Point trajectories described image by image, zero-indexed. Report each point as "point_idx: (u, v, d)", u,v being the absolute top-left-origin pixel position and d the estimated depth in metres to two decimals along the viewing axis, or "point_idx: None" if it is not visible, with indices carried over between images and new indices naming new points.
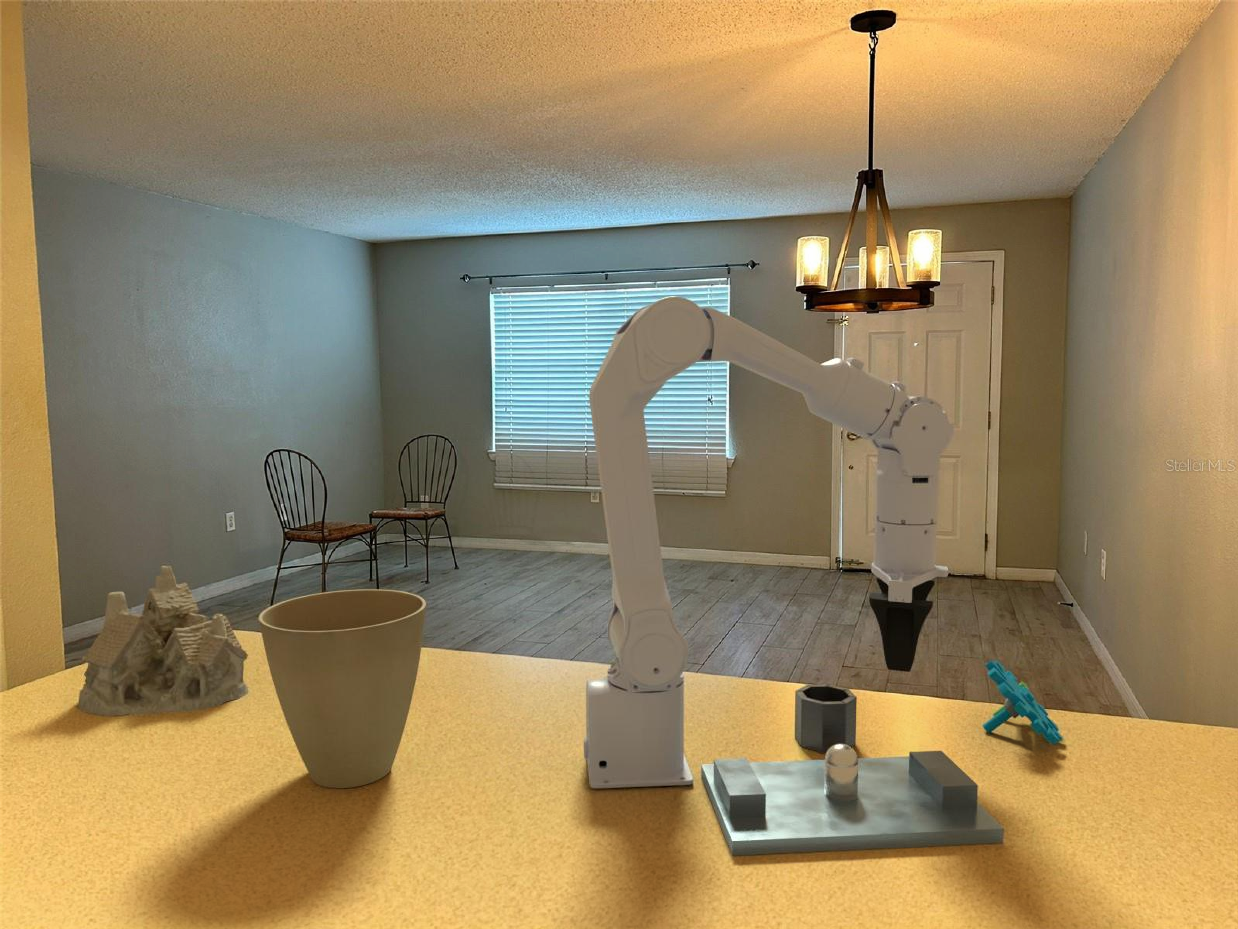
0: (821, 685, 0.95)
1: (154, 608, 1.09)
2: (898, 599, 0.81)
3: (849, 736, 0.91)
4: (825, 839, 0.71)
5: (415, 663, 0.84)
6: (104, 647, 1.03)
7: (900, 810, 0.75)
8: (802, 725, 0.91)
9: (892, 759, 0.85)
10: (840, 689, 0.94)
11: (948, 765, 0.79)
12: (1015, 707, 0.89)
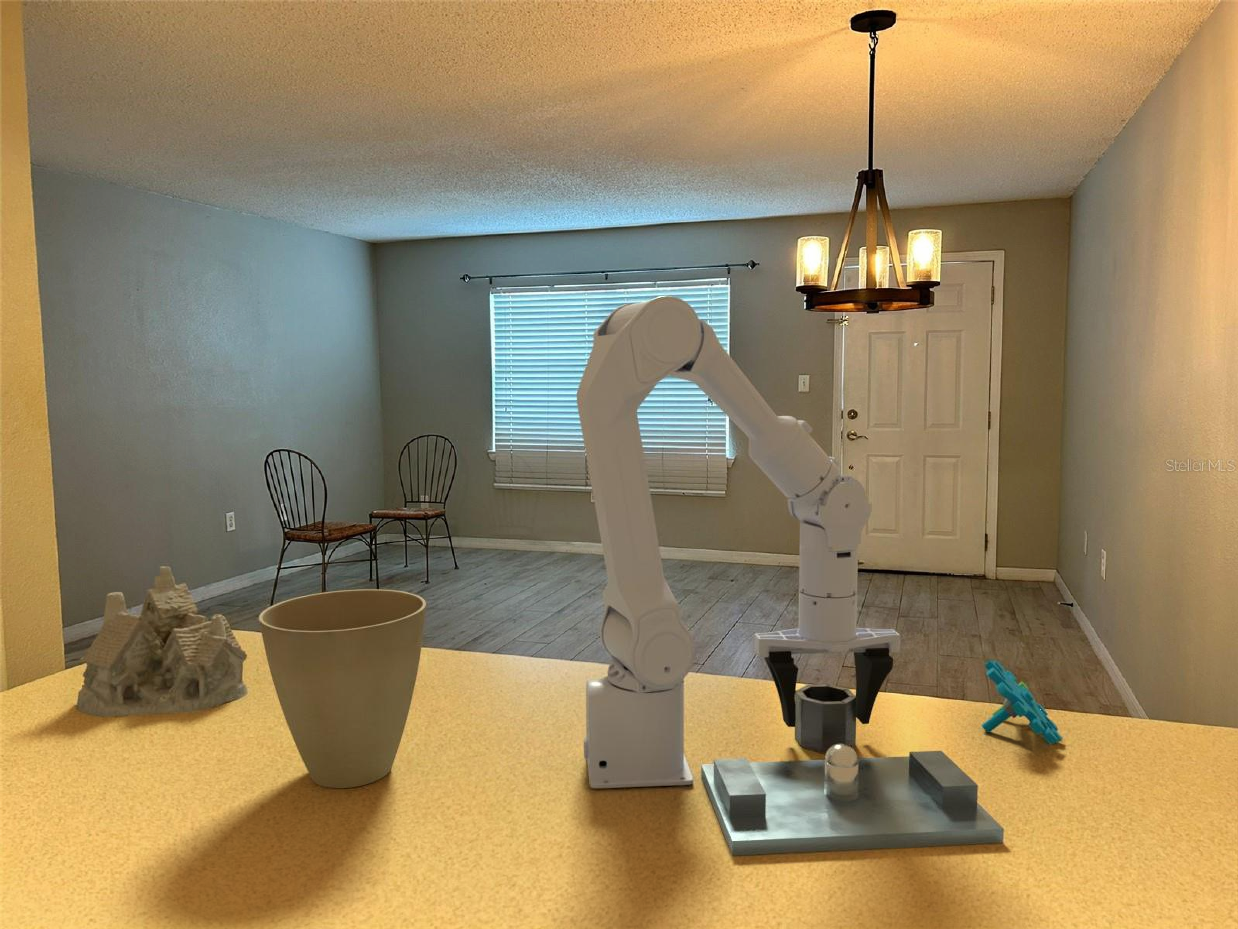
0: (821, 685, 0.95)
1: (153, 609, 1.08)
2: (756, 652, 0.91)
3: (849, 736, 0.91)
4: (825, 839, 0.71)
5: (415, 663, 0.84)
6: (103, 647, 1.03)
7: (900, 810, 0.75)
8: (802, 725, 0.91)
9: (892, 759, 0.85)
10: (840, 689, 0.94)
11: (948, 765, 0.79)
12: (1013, 707, 0.90)
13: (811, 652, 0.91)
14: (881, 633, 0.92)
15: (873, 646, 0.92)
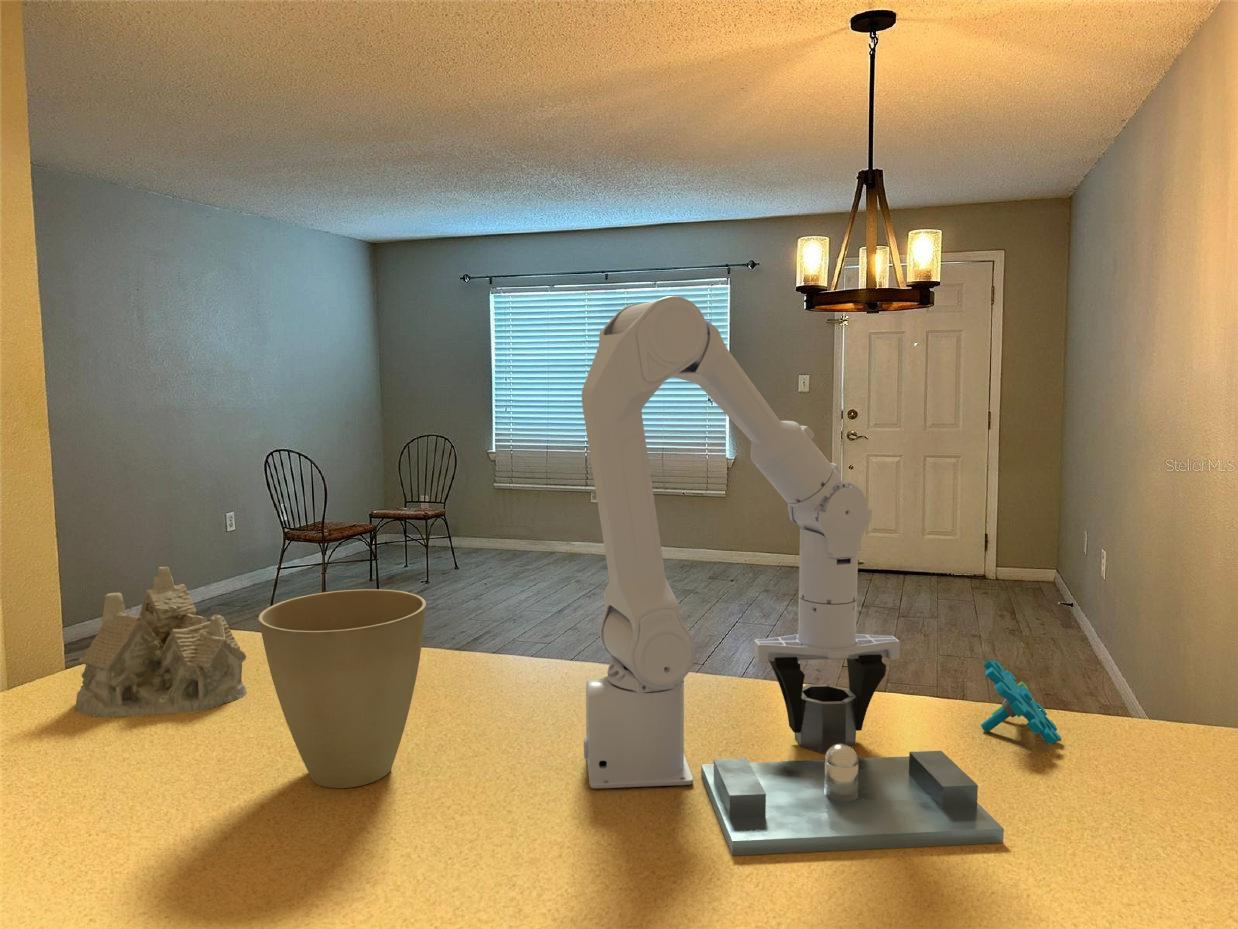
0: (821, 685, 0.95)
1: (152, 609, 1.08)
2: (755, 658, 0.91)
3: (849, 736, 0.91)
4: (825, 839, 0.71)
5: (415, 663, 0.84)
6: (101, 648, 1.02)
7: (900, 810, 0.75)
8: (802, 725, 0.91)
9: (892, 759, 0.85)
10: (840, 689, 0.94)
11: (948, 765, 0.79)
12: (1012, 706, 0.90)
13: (811, 658, 0.91)
14: (881, 639, 0.92)
15: (873, 652, 0.92)
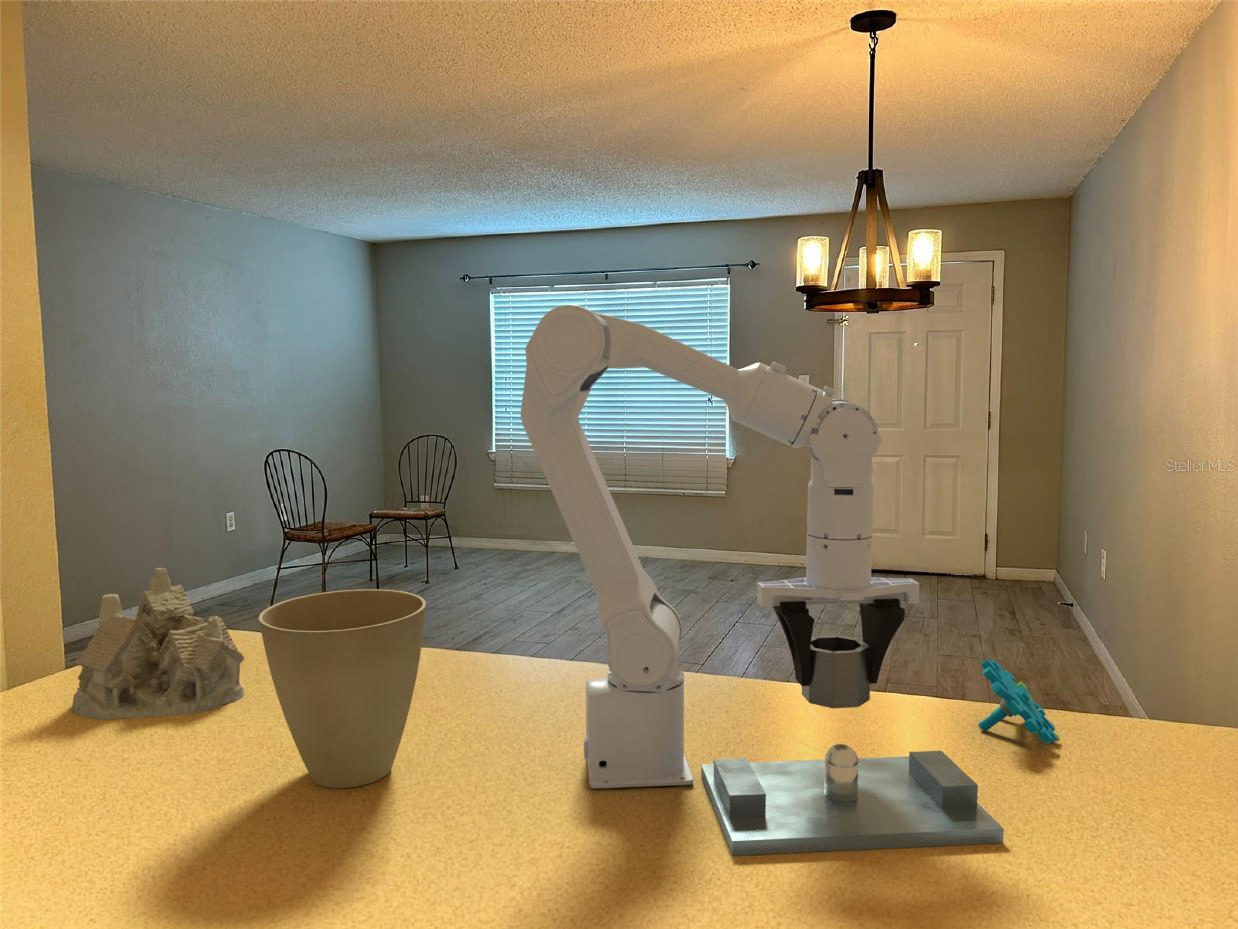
0: (830, 636, 0.85)
1: (149, 610, 1.07)
2: (759, 602, 0.82)
3: (863, 689, 0.81)
4: (825, 839, 0.71)
5: (415, 663, 0.84)
6: (98, 650, 1.02)
7: (900, 810, 0.75)
8: (810, 678, 0.82)
9: (892, 759, 0.85)
10: (851, 639, 0.84)
11: (948, 765, 0.79)
12: (1008, 706, 0.90)
13: (820, 603, 0.82)
14: (898, 582, 0.82)
15: (889, 596, 0.82)
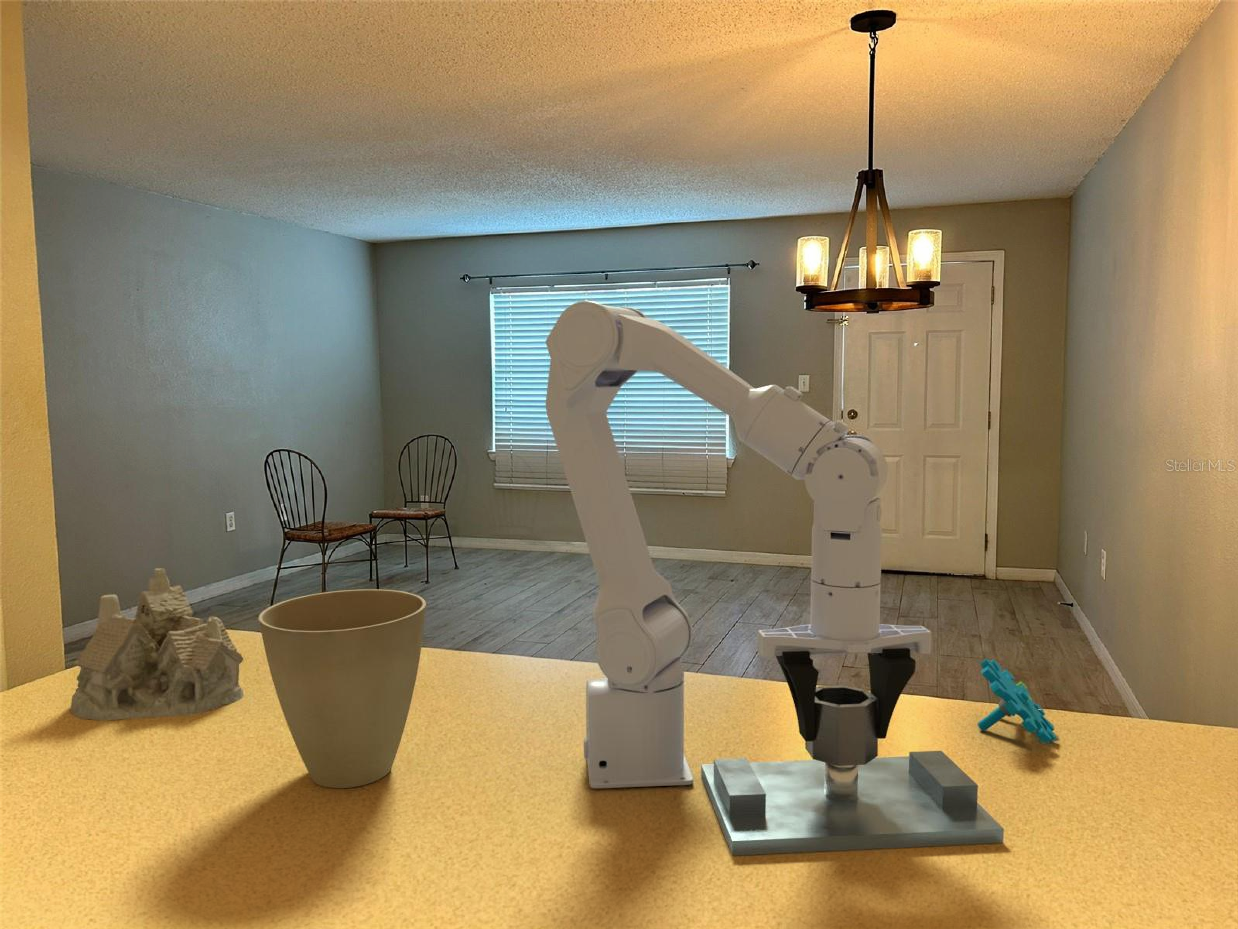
0: (835, 686, 0.80)
1: (147, 611, 1.07)
2: (760, 652, 0.77)
3: (870, 745, 0.76)
4: (825, 839, 0.71)
5: (415, 663, 0.84)
6: (97, 650, 1.01)
7: (900, 810, 0.75)
8: None
9: (892, 759, 0.85)
10: (858, 690, 0.79)
11: (948, 765, 0.79)
12: (1006, 705, 0.90)
13: (825, 653, 0.77)
14: (908, 630, 0.77)
15: (899, 646, 0.77)
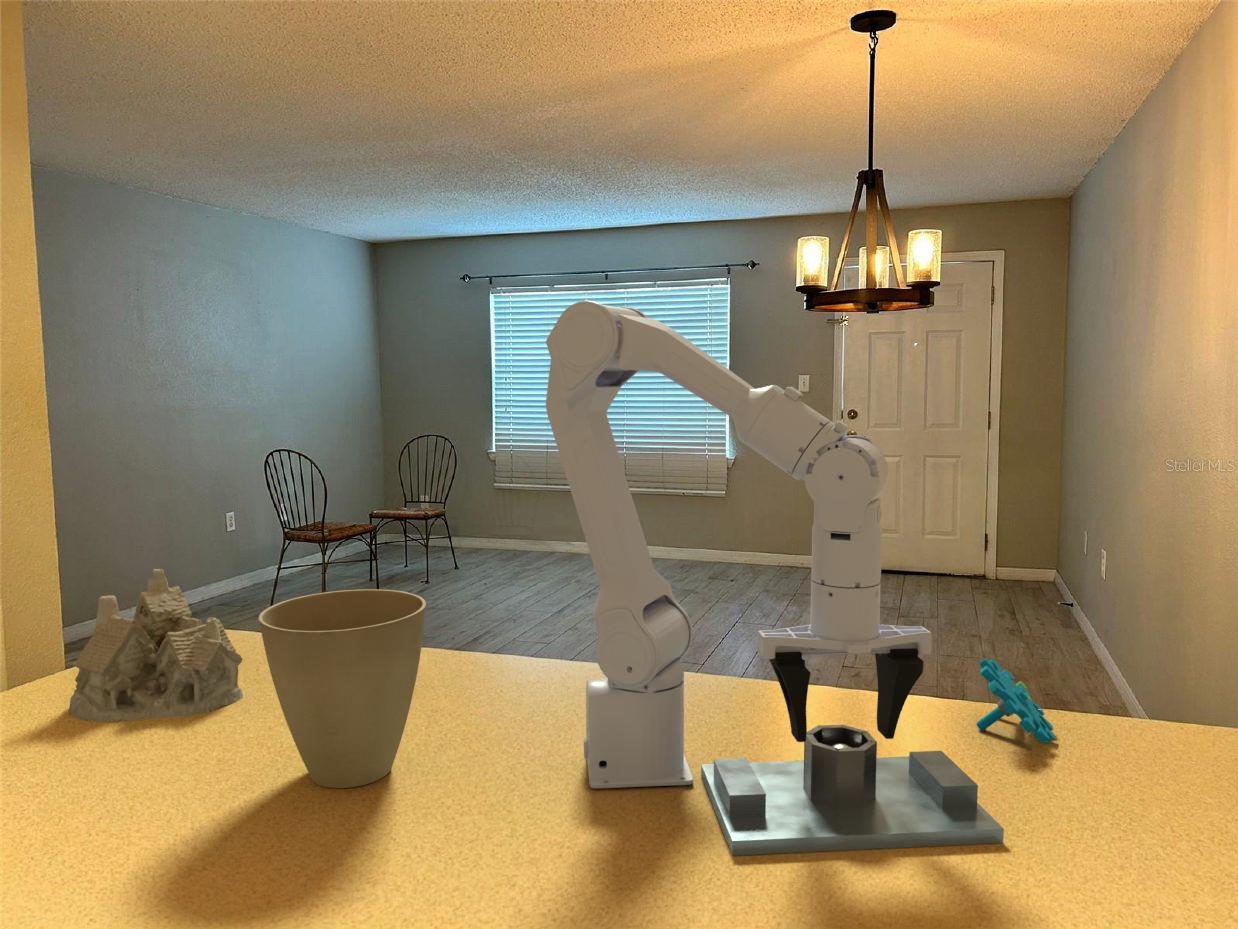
0: (835, 726, 0.81)
1: (146, 612, 1.07)
2: (760, 652, 0.77)
3: (868, 789, 0.76)
4: (825, 839, 0.71)
5: (415, 663, 0.84)
6: (95, 651, 1.01)
7: (900, 810, 0.75)
8: (812, 775, 0.77)
9: (892, 759, 0.85)
10: (857, 731, 0.79)
11: (948, 765, 0.79)
12: (1004, 705, 0.90)
13: (825, 653, 0.77)
14: (908, 631, 0.77)
15: (899, 646, 0.77)
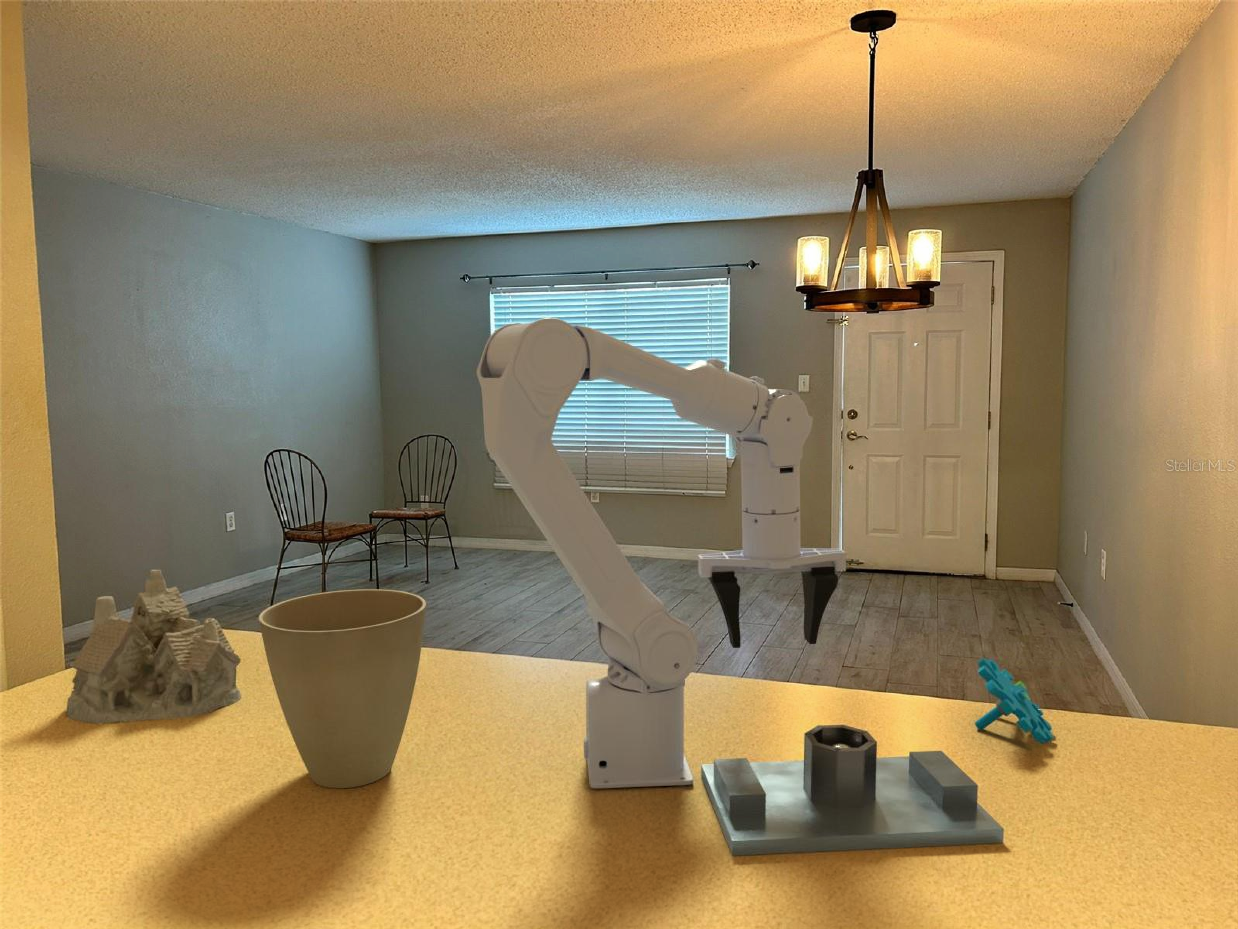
0: (835, 726, 0.81)
1: (144, 613, 1.06)
2: (699, 573, 0.90)
3: (868, 789, 0.76)
4: (825, 839, 0.71)
5: (415, 663, 0.84)
6: (93, 652, 1.01)
7: (900, 810, 0.75)
8: (812, 775, 0.77)
9: (892, 759, 0.85)
10: (857, 731, 0.79)
11: (948, 765, 0.79)
12: (1001, 704, 0.90)
13: (755, 572, 0.90)
14: (827, 552, 0.90)
15: (819, 565, 0.90)
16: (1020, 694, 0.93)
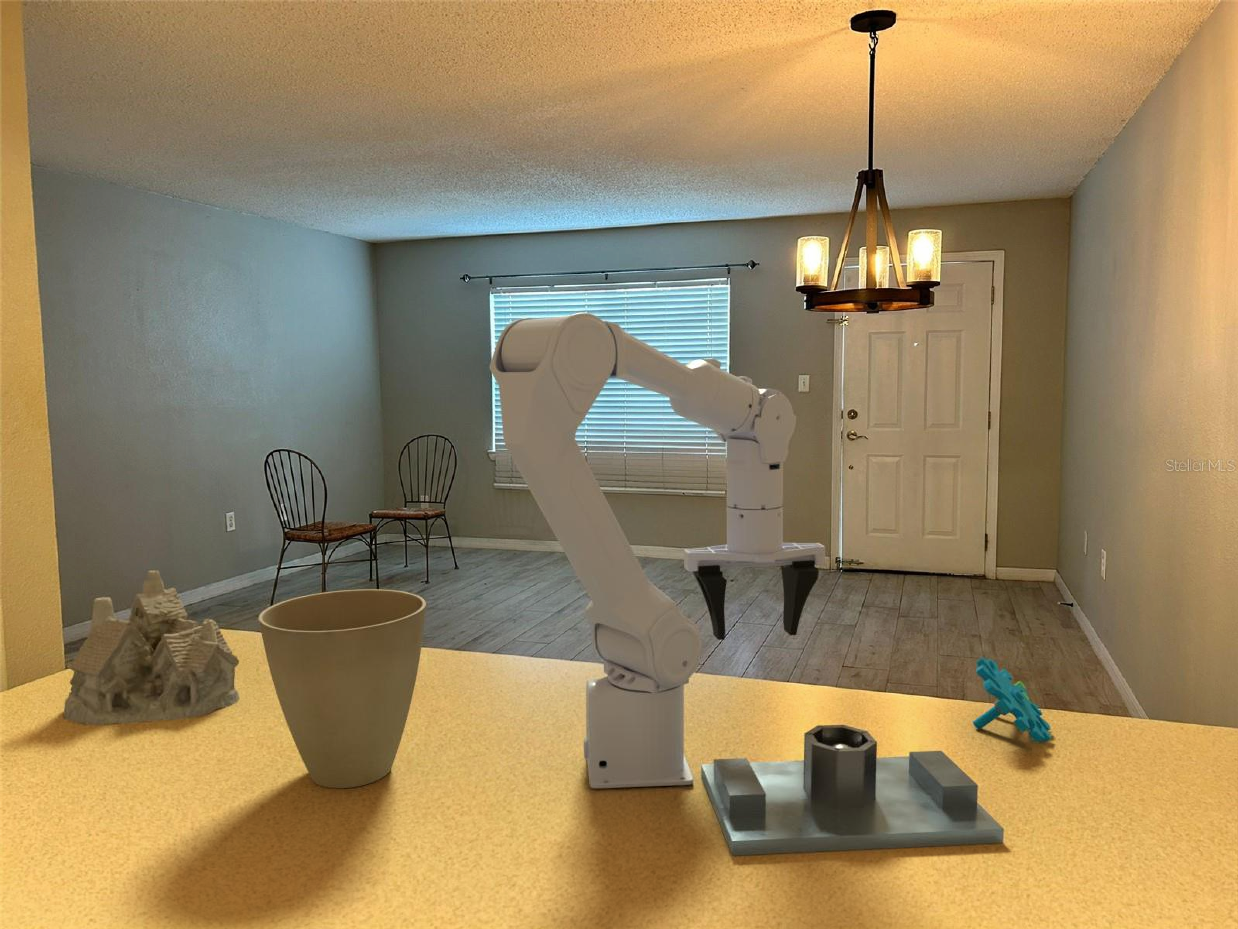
0: (835, 726, 0.81)
1: (142, 614, 1.06)
2: (685, 567, 0.93)
3: (868, 789, 0.76)
4: (825, 839, 0.71)
5: (415, 663, 0.84)
6: (90, 654, 1.00)
7: (900, 810, 0.75)
8: (812, 775, 0.77)
9: (892, 759, 0.85)
10: (857, 731, 0.79)
11: (948, 765, 0.79)
12: (998, 703, 0.90)
13: (739, 566, 0.93)
14: (807, 546, 0.94)
15: (799, 559, 0.94)
16: (1018, 694, 0.93)
